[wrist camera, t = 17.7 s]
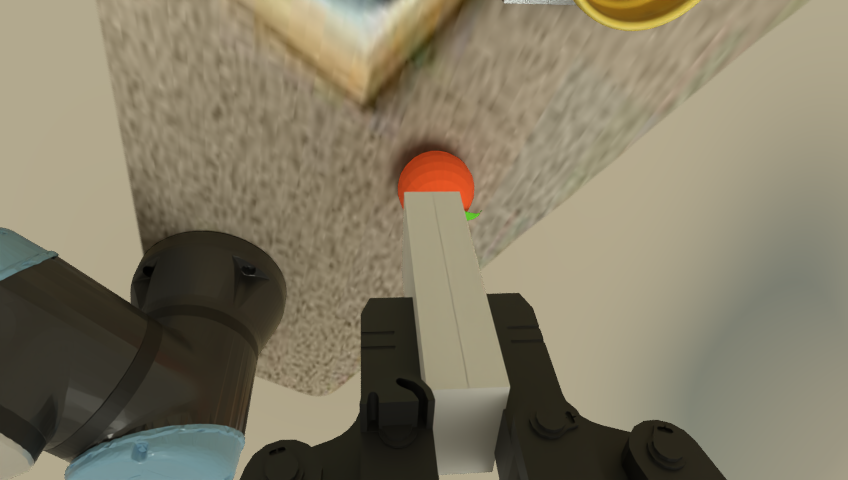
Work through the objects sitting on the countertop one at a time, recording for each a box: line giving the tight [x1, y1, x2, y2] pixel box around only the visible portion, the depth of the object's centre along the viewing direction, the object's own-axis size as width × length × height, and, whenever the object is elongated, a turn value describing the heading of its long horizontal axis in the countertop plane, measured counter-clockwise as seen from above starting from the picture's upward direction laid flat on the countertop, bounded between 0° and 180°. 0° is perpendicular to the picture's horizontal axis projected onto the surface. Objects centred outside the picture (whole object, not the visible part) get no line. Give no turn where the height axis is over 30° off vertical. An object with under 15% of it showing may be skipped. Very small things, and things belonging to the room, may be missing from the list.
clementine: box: [398, 151, 482, 221], centre depth 52 cm, size 8×7×7 cm
